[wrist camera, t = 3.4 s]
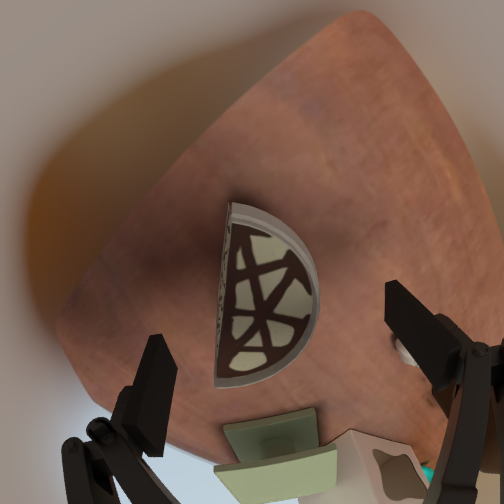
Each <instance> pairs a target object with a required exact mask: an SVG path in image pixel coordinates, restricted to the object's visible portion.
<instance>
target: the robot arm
mask: <svg viewBox="0 0 504 504" xmlns="http://www.w3.org/2000/svg"><path fill="white" fill-rule="evenodd" d="M384 321H385V322H386V324H387V325H388V326H389V328H390V329H391V330H392V331H393V333H394V334H395V335H396V337H397V338H398V339H399V340H400V342H401V343H402V344H403V346H404V347H405V348H406V350H407V351H408V352H409V354H410V355H411V356H412V358H413V359H414V360H415V362H416V363H417V364H418V366H419V367H420V369H421V370H422V371H423V373H424V374H425V375H426V377H427V378H428V380H429V381H430V382H431V384H432V385H433V387H434V388H435V389H436V391H437V392H440V391H442V390H444V389H446V388H447V387H449V386H450V384H451V381H452V378H453V379H454V380H455V382H456V386H455V388H454V391H453V394H452V396H451V397H453V401H452V406H451V411H450V416H449V420H448V425H447V429H446V433H445V437H444V441H443V444H442V448H441V451H440V455H439V458H438V461H437V465H436V468H435V471H434V474H433V477H432V479H431V482H430V485H429V488H428V490H427V493H426V496H425V498H424V501H423V503H422V504H475V501H476V498H477V493H478V490H477V489H476V487H475V485H476V481H477V477H478V472H479V468H480V464H481V459H482V454H483V448H484V443H485V436H486V429H487V422H488V413H489V402H490V394H491V399H492V405H493V411H494V417H495V423H496V431H497V439H498V449H499V462H500V504H504V338H503V340H502V343H501V345H497V346H492V347H489V346H488V345H486V344H485V343H482V342H473V341H472V340H471V339H470V338H469V337H468V336H467V335H466V334H465V333H464V332H463V331H462V330H461V329H460V328H458V326H457V325H456V324H455V323H454V322H453V321H452V320H451V319H450V318H449V317H447V316H445V315H443V314H441V313H439V314H437V315H433V314H432V313H431V312H430V311H429V310H428V309H427V308H426V307H425V306H424V305H423V304H422V303H421V302H420V301H419V300H417V299H416V298H415V297H414V296H413V295H412V294H411V293H410V292H409V291H408V290H407V289H406V288H405V287H404V286H403V285H402V284H400V283H399V282H398V281H397V280H393V281H389V282H386V283H385V317H384ZM177 369H178V368H177V366H176V364H175V361H174V359H173V357H172V355H171V353H170V351H169V349H168V347H167V344H166V342H165V340H164V338H163V335H162V334H155V335H150V336H149V339H148V342H147V344H146V347H145V350H144V353H143V356H142V359H141V362H140V364H139V367H138V370H137V373H136V376H135V379H134V382H133V385H132V386H125V387H124V388H123V389H122V391H121V392H120V393H119V396H118V399H117V402H116V405H115V408H114V411H113V414H112V417H111V420H110V421H109V420H108V419H107V418H104V417H98V418H95V419H93V420H92V421H91V422H90V423H89V424H88V426H87V428H86V433H87V435H88V436H89V437H90V438H91V439H92V441H88V442H82V441H81V440H80V439H79V438H77V437H71V438H69V439H67V440H66V441H65V442H64V443H63V445H62V449H61V453H62V464H63V472H64V481H65V488H66V494H67V501H68V504H121V503H120V500H119V497H118V493H117V490H116V487H115V483H114V480H113V476H114V477H115V478H116V480H117V481H118V483H119V485H120V486H121V488H122V489H123V491H124V493H125V494H126V495H127V497H128V498H129V499H130V501H131V503H132V504H181V503H180V502H179V501H178V500H177V499H176V498H175V497H174V496H173V495H172V493H170V491H169V490H168V489H167V488H166V487H165V486H164V484H163V483H162V482H161V481H160V479H159V478H158V477H157V476H156V474H155V473H154V472H153V471H152V469H151V468H150V467H149V466H148V464H147V463H146V462H145V460H144V459H143V458H142V454H143V452H145V454H147V456H148V457H163V452H164V446H165V440H166V433H167V427H168V421H169V415H170V409H171V403H172V397H173V391H174V386H175V380H176V375H177Z"/></svg>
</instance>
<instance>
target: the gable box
mask: <svg viewBox="0 0 504 504" xmlns="http://www.w3.org/2000/svg"><path fill="white" fill-rule="evenodd" d="M333 443H335V444H336V447H337V478H336V486H335V487H333V488H331V489H329V490H327V491H323V492H320V493H316V494H311V495H307V496H302V497H298V501H299V504H422V503H423V501H424V498H425V496H426V493H427V490H428V488H429V485H430V484H429V482H428V480H427V478H426V476H425V474H424V472H423V470H422V468H421V466H420V464H419V462H418V460H417V458H416V456H415V454H414V452H413V450H412V448H411V446H410V445H406V444H401V443H397V442H393V441H389V440H386V439H382V438H378V437H375V436H371V435H368V434H364V433H361V432H358V431H354V430H351V429H349V430H348V431H346V432H345V433H344V434H342V435H341V436H339V437H338V438H337V439H335V440H334V441H332V442H331V443H329V444H328V445H330V444H333Z"/></svg>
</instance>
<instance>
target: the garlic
mask: <svg viewBox="0 0 504 504" xmlns="http://www.w3.org/2000/svg"><path fill="white" fill-rule="evenodd" d="M396 348H397V350H398V352H399V356H400V359H401V360H402V361H403V362H404V363H406V364H410V365H413V366H416V367H417V368H420V367H419V366H418V364H417V363H416V362H415V360H414V359H413V358H412V356H411V355H410V354H409V352H408V351H407V350H406V348H405V347H404V346H403V344H402V343H401V342H400V340H399V339H398V338H397V339H396Z"/></svg>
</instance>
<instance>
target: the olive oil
mask: <svg viewBox="0 0 504 504" xmlns="http://www.w3.org/2000/svg"><path fill="white" fill-rule="evenodd" d="M455 386H456V382H455V380H454V379H453V378H452V381H451V384H450V386H449V387H447V388H446V389H444V390H442V391H440V392H437V391H436V389H435V388H434V387H433V391H432V392H433V396H434V397H435V399H436V401H437V402H438V404H439V405H440V407H441V409H442V410H443V412H444V413H445V415H446V417H447V418H448V420H449V416H450V411H451V406H452V401H453V397H451V396H452V394H453V391H454V388H455ZM479 471H481V472H484V473H491V474H500V462H499V449H498V439H497V431H496V423H495V417H494V411H493V405H492V399H491V394H490V402H489V413H488V422H487V429H486V436H485V443H484V448H483V454H482V459H481V464H480V468H479Z"/></svg>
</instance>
